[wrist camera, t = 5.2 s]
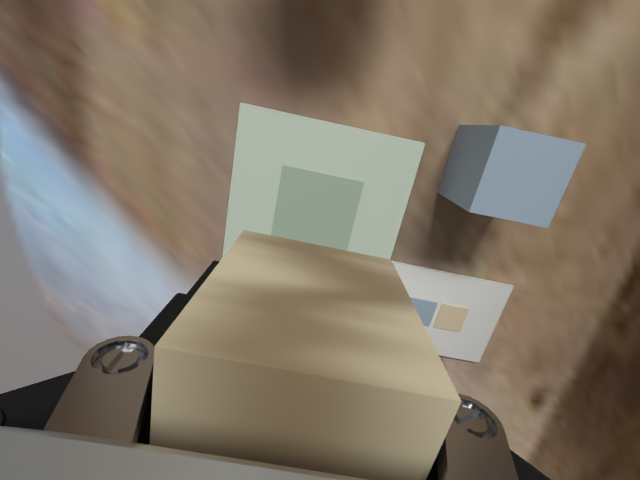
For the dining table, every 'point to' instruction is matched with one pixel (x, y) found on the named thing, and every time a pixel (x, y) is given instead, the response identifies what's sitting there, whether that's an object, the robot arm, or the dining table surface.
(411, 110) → the dining table surface
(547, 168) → the slate block
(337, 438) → the maple block
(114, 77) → the dining table surface
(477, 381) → the dining table surface
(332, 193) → the board
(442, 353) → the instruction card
